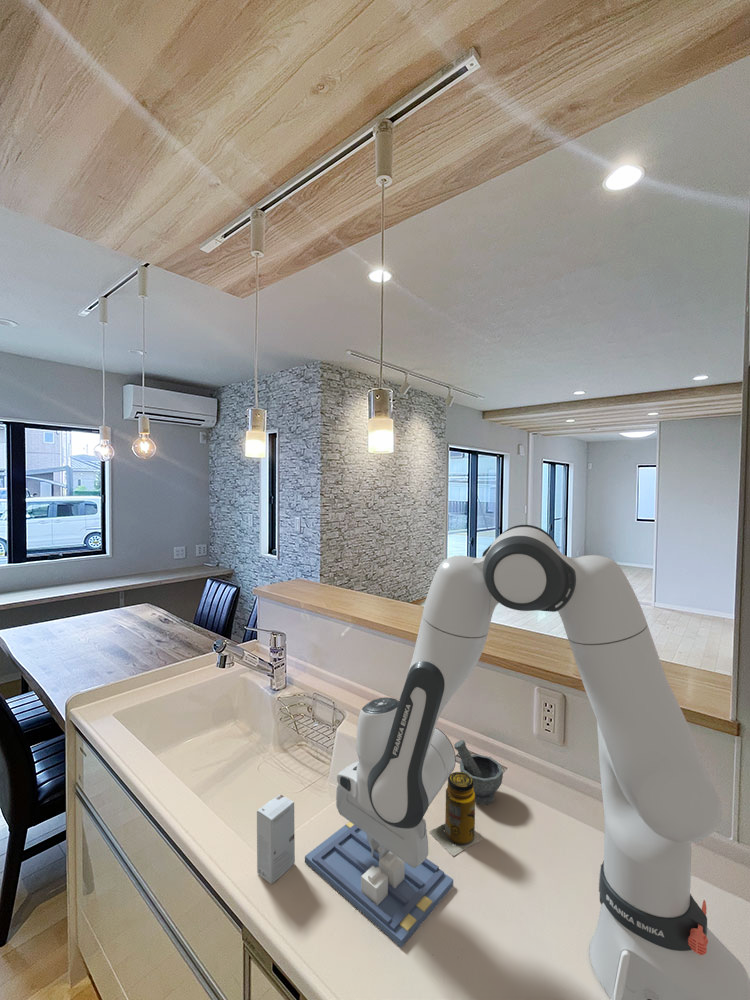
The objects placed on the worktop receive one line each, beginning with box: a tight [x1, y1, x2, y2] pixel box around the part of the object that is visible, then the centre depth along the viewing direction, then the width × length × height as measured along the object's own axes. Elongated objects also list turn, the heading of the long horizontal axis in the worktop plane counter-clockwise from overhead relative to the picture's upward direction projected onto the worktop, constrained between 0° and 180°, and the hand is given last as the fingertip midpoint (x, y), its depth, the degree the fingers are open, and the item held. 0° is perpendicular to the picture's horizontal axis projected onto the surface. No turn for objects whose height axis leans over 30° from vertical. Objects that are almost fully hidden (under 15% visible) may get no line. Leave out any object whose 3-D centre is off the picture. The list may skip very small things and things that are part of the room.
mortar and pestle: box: [453, 739, 504, 806], centre depth 107 cm, size 11×9×12 cm
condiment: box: [429, 771, 485, 857], centre depth 95 cm, size 7×8×12 cm
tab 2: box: [379, 851, 405, 888], centre depth 83 cm, size 4×3×4 cm
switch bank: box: [304, 821, 454, 948], centre depth 86 cm, size 24×15×2 cm, turn 48°
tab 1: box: [361, 866, 388, 906], centre depth 80 cm, size 4×3×4 cm
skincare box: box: [256, 794, 296, 885], centre depth 87 cm, size 6×4×12 cm
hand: (379, 858), depth 85 cm, fingers closed
